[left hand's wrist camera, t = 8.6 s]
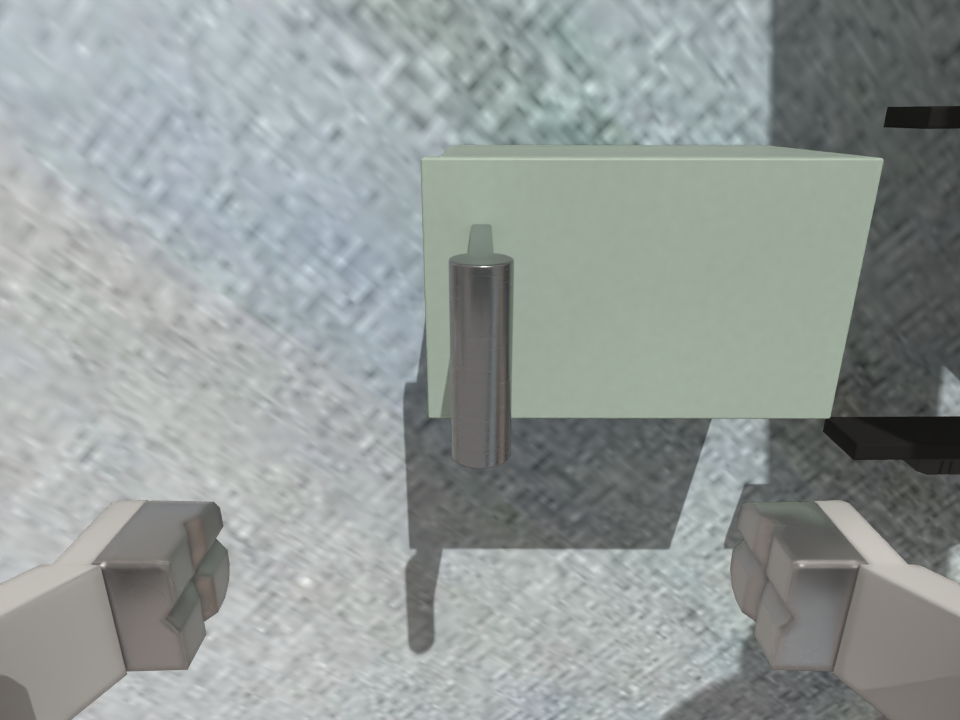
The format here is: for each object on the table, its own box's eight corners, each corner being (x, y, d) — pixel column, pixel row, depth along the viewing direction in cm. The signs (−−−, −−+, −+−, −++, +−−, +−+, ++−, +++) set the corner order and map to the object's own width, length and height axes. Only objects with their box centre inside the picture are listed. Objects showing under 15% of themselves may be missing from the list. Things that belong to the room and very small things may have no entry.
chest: (453, 338, 34) (444, 408, 26) (450, 145, 31) (439, 156, 23) (738, 339, 34) (819, 409, 26) (767, 145, 31) (869, 156, 23)
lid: (430, 409, 26) (408, 533, 18) (422, 156, 23) (392, 177, 15) (819, 409, 26) (961, 534, 18) (870, 156, 23) (1071, 178, 15)
